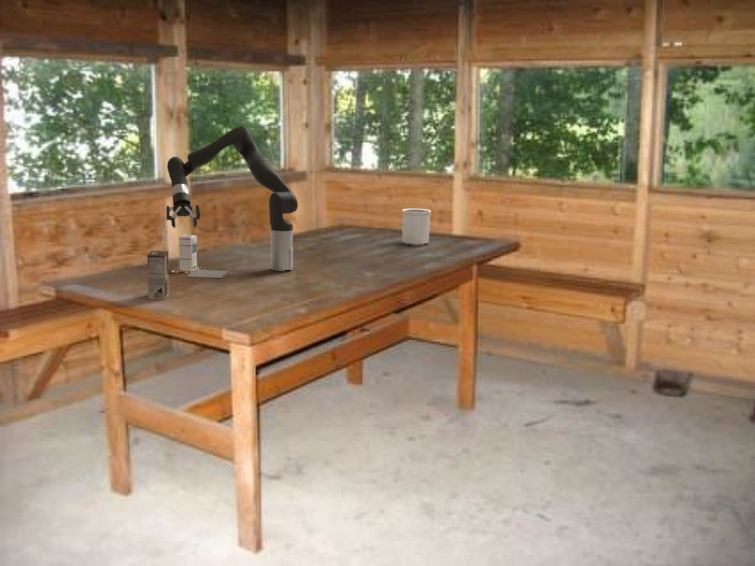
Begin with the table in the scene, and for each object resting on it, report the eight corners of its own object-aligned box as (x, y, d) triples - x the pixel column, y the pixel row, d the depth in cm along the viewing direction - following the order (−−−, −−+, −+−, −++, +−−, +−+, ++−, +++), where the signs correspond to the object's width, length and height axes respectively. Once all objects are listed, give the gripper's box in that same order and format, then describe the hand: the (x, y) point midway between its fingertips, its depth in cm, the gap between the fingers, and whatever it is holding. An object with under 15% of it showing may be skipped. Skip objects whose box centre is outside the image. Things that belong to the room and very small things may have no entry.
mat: (228, 272, 365) (228, 271, 365) (221, 278, 351) (220, 277, 351) (194, 270, 365) (194, 269, 365) (186, 277, 351) (186, 276, 351)
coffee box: (151, 293, 320) (151, 250, 317) (169, 294, 321) (169, 250, 318) (147, 299, 312) (146, 255, 308) (166, 299, 312) (165, 255, 309)
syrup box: (192, 271, 363) (191, 236, 360) (179, 270, 364) (178, 236, 361) (197, 268, 368) (197, 235, 365) (184, 268, 370) (184, 234, 367)
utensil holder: (430, 246, 448) (431, 212, 445) (401, 245, 448) (402, 211, 445) (428, 241, 463) (430, 208, 459) (400, 240, 463) (402, 208, 459)
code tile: (205, 267, 372) (205, 267, 372) (199, 273, 360) (199, 272, 360) (178, 266, 372) (178, 266, 372) (170, 272, 361) (170, 271, 361)
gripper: (196, 201, 386) (200, 231, 378) (163, 202, 382) (167, 232, 374) (198, 191, 380) (202, 221, 372) (164, 191, 376) (168, 221, 368)
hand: (184, 226), depth 373 cm, fingers open, 8 cm apart
